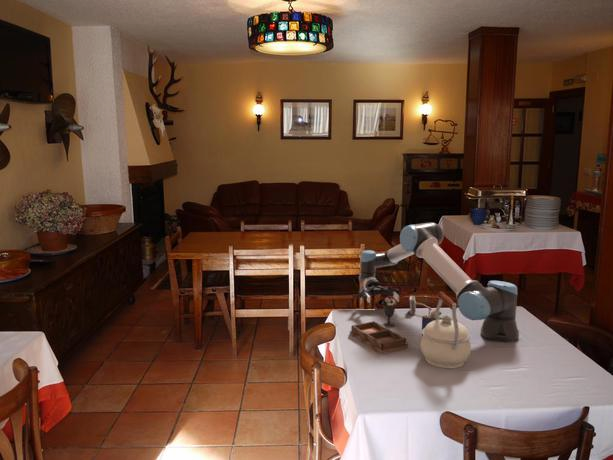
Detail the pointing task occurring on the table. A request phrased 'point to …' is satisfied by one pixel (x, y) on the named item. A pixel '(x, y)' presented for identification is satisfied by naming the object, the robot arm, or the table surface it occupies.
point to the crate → (378, 337)
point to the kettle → (445, 339)
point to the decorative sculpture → (413, 304)
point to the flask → (428, 320)
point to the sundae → (389, 309)
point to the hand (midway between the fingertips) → (383, 299)
